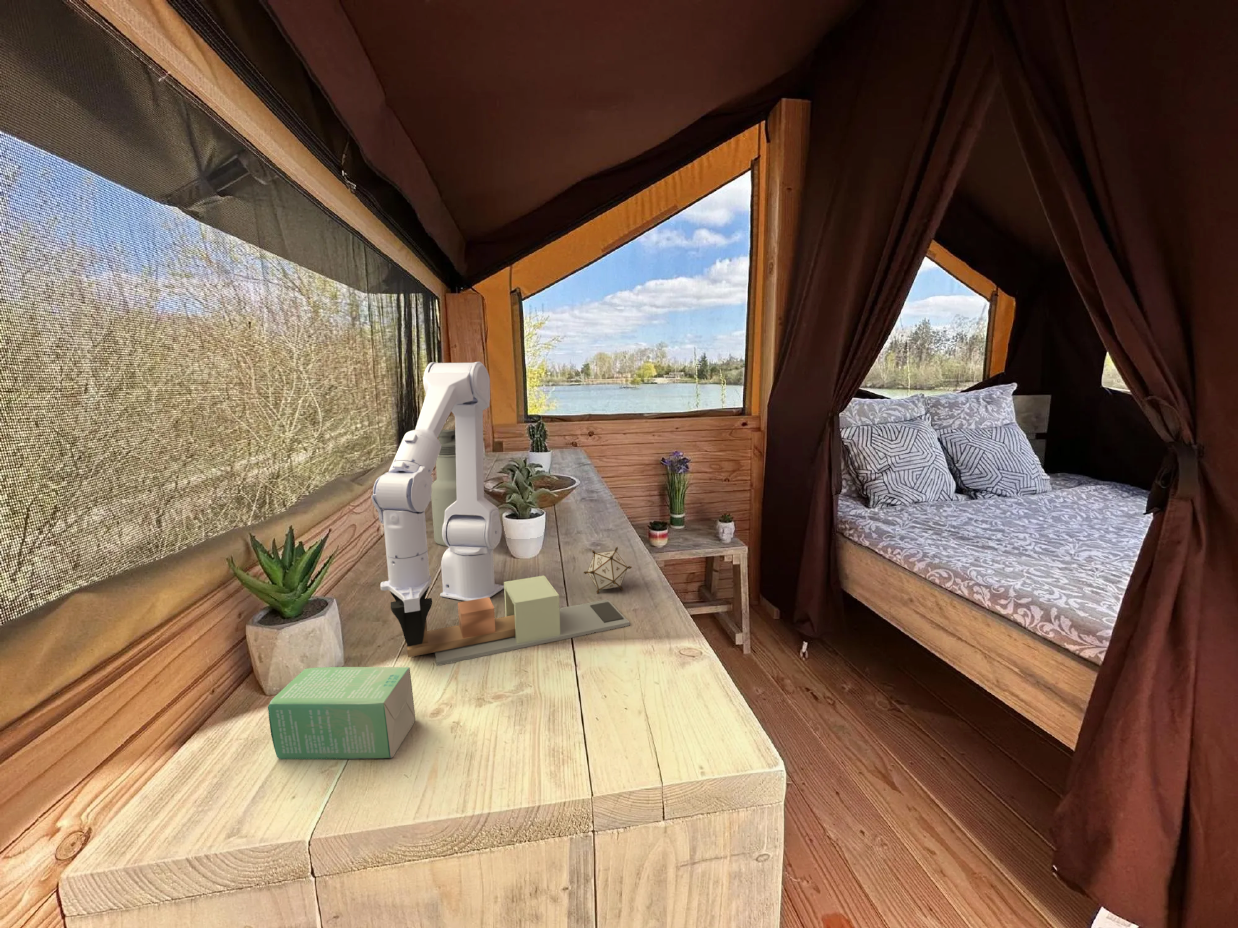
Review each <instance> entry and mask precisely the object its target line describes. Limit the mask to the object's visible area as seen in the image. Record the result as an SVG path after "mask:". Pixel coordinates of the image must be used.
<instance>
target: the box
mask: <svg viewBox="0 0 1238 928" xmlns="http://www.w3.org/2000/svg"><path fill="white" fill-rule="evenodd" d="M413 695H414V693H413V685H412V677H411V667H408V666H406V667H403V666H400V667H399V666H396V667H395V666H331V667H330V666H329V667H328V666H326V667H308V668H304V669H303V670H302V671H301V672H300V673H299V674H298V675H296V676H295V677H294V678H293V679H292V680H291V681H289V683H287V685H286V686H284V687H283V689H281V690H280V691H279V692H278V693H277V694H276V695H275V696H274V697H272V699H271V700H270V701H269V704H268V706H267V712H268V719H269V720H268V721H269V729H270V735H271V741H272V745H273V749H274V751H275V754H276V758H277V759H279V760H358V759H359V760H361V759H363V760H364V759H365V760H366V759H368V760H370V759H390V758H391V759H392V758H393V757H394V756H395V754H396V753H397V751H398V750H399V748H400V747H401V745H403V742H404V741H405V739H406V737H407V736H408V734H409V732H410V731H411V730H412V727H413V725H414V723H416V722H415V721H416V711H415V703H414V696H413Z"/></svg>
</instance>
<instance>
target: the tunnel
mask: <svg viewBox="0 0 1238 928" xmlns="http://www.w3.org/2000/svg"><path fill="white" fill-rule="evenodd" d="M503 585H504V588H503V591H504V593H503V594H504V611H505V612H504V613H505V617H506V616H511V615H515V635H516V642H517V644H518V643H523V642H528V641H533V640H538V639H543V638H548V637H553V636H558V635H560V608H561V607H560V594H559V593H558V592H557V591H556V589H555V588H554V587H553V585H552V584H551V583H550V581H549V580H548V579H547V577H546V576H545V575H539V576H533V577H532V576H531V577H525V578H520V579H514V580H508V581H503Z"/></svg>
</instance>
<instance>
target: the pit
mask: <svg viewBox="0 0 1238 928" xmlns="http://www.w3.org/2000/svg"><path fill="white" fill-rule="evenodd" d="M590 607H591V608H592V609H593V610H594V611H595V612H596V614H597V615H598V616H599V617H600V618H601V620H602V621H603V622H604V623H606V622H611V621H616V620H621V619H623V617H622V616H621V615H620V614H619V613H618V612H617V611H616V609H615V608H614V607H613V606H612V605H611V604H610V603H609V602H605V603H599V604H594V605H590Z"/></svg>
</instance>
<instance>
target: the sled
mask: <svg viewBox="0 0 1238 928" xmlns="http://www.w3.org/2000/svg"><path fill="white" fill-rule="evenodd" d="M457 612H458V624H457V625H451V626H446V627H441V628H437V629H436V628H435V629H430V630H428V624H427V620H426V622H425V630H424V638H423V642H422V644H418V645H413V646H408V645H407V644H406V652H407V658H411V657H416V656H420V655H428V654H432V653H435V652H437V651H442V650H448V649H453V648H458V647H463V646H468V645H473V644H478V643H483V642H488V641H493V640H498V639H503V638H508V637H513V636H516V635H515V615H511V616H506V615H505V616H501V617H496V616H495V615H496V613H495V606H494V604H493V603H492V599H491V597H490V598H489V597H487V598H481V599H475V600H469V601H464V600H463V601H458V602H457Z"/></svg>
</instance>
